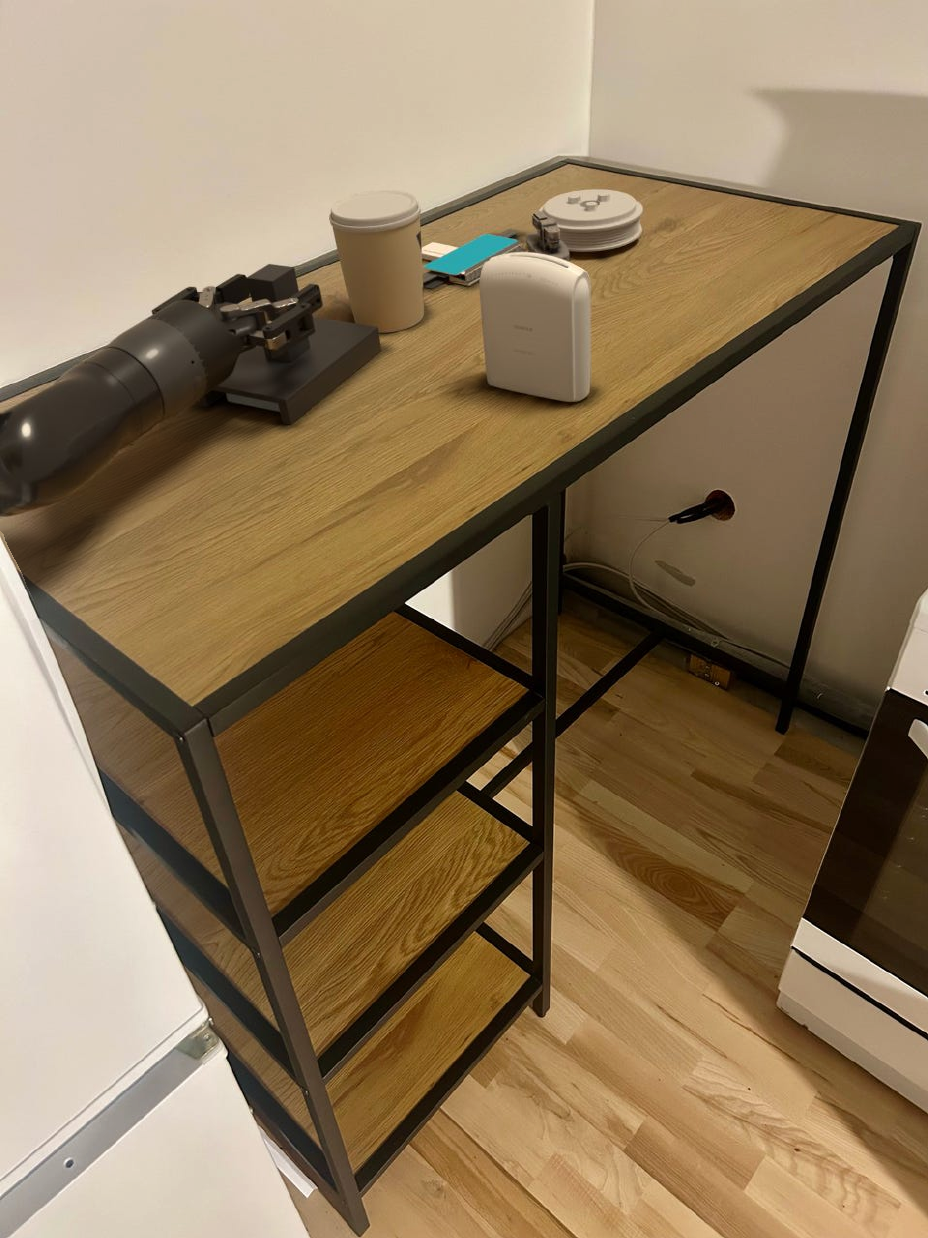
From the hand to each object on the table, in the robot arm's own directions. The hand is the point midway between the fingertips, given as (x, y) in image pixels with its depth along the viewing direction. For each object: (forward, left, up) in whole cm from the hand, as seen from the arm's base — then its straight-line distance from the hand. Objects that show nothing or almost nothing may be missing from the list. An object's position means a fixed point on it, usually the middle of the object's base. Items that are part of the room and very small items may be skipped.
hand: (280, 288), depth 87 cm
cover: (-1, -1, -9) cm, 9 cm away
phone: (-1, -1, -9) cm, 9 cm away
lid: (+41, +15, -9) cm, 45 cm away
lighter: (+27, -2, -9) cm, 29 cm away
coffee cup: (+12, +7, -9) cm, 17 cm away
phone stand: (+25, +18, -9) cm, 32 cm away
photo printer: (+19, -16, -9) cm, 26 cm away
